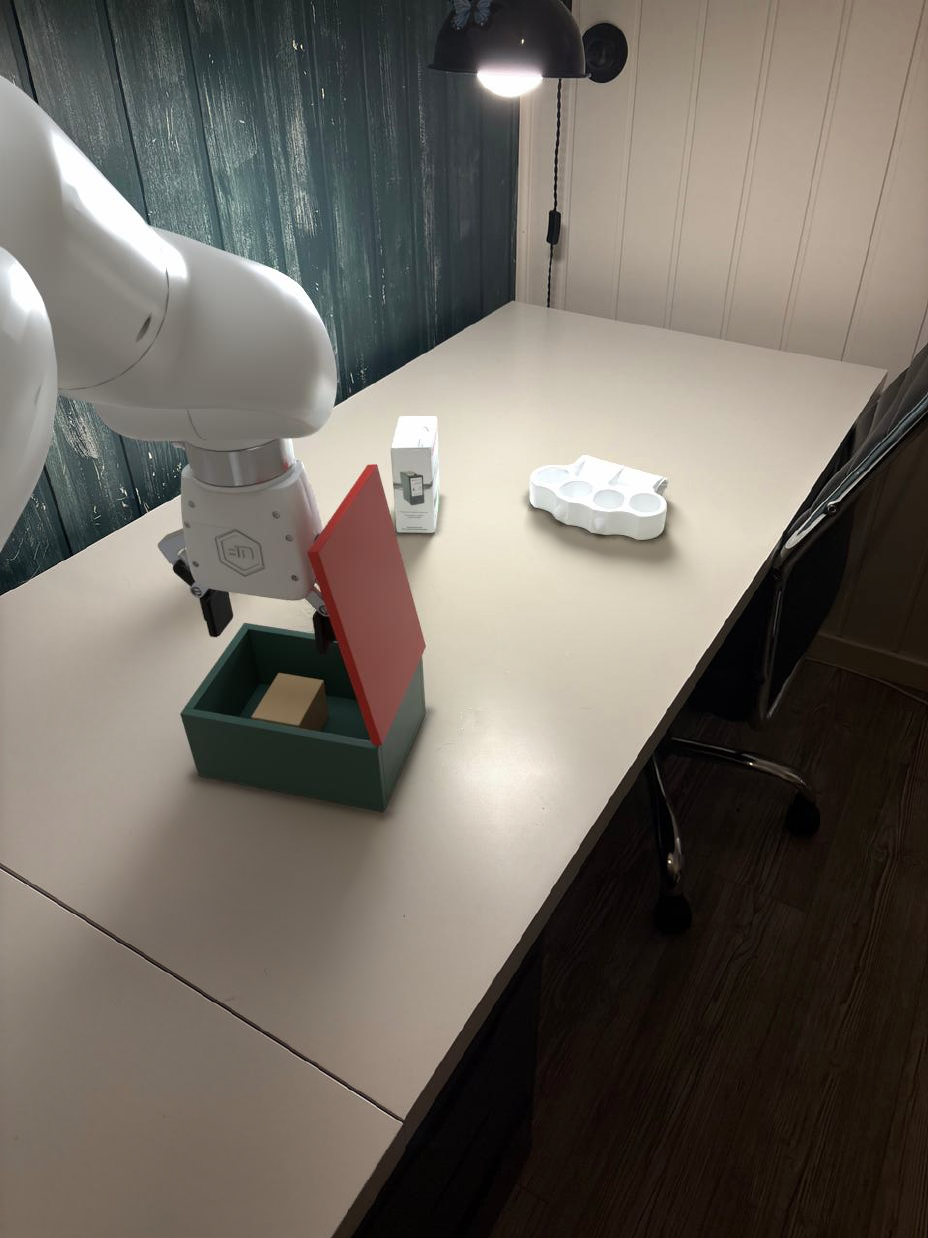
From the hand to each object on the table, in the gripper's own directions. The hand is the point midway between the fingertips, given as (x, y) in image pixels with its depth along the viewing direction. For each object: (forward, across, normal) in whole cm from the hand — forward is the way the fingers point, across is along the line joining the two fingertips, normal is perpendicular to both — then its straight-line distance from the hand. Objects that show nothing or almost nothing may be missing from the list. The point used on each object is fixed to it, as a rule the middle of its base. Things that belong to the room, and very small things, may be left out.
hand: (274, 635), depth 77 cm
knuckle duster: (+12, +22, +48) cm, 54 cm away
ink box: (+12, 0, +41) cm, 43 cm away
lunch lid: (-4, +9, 0) cm, 10 cm away
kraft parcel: (+12, 0, +1) cm, 12 cm away
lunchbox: (+13, +2, +1) cm, 13 cm away
